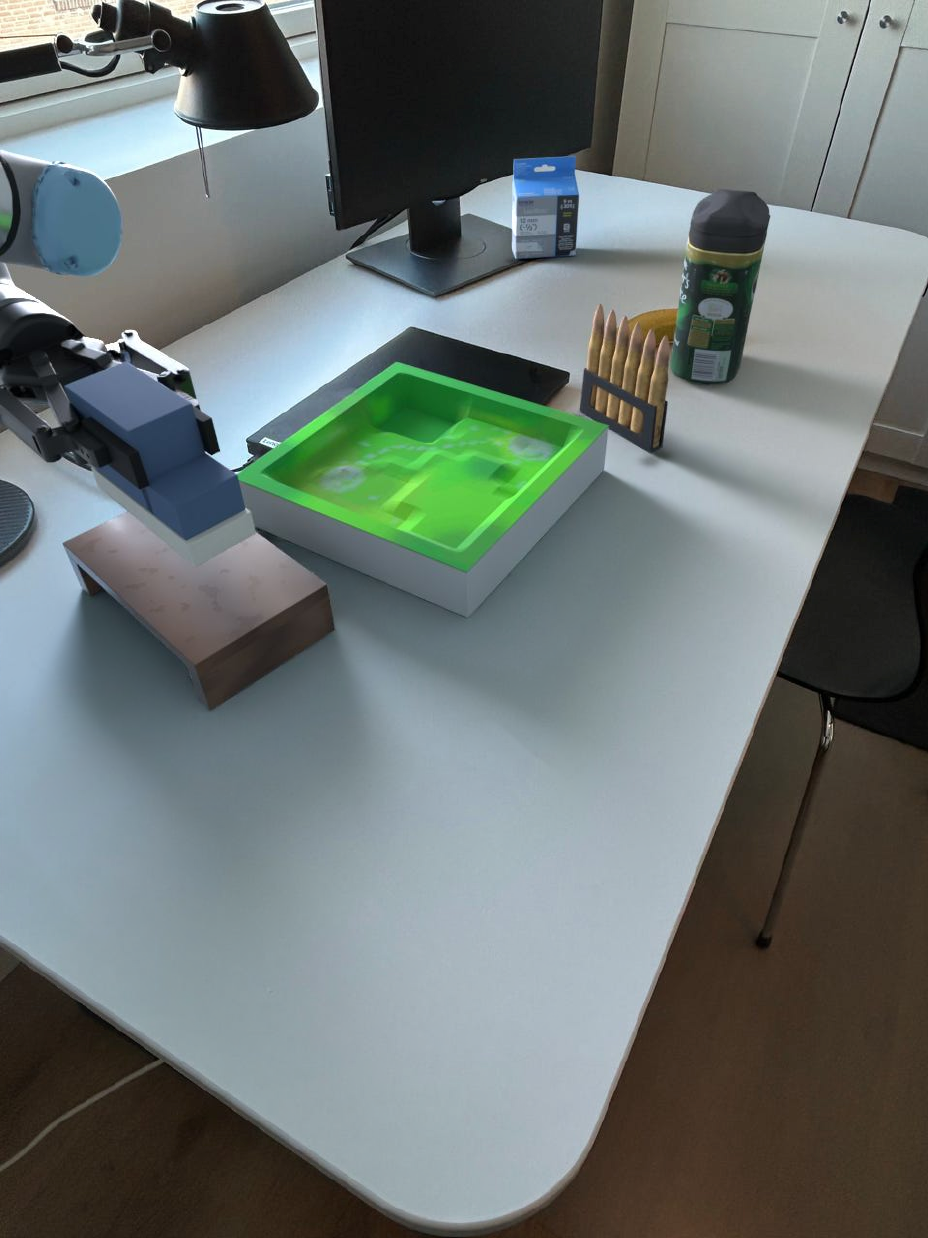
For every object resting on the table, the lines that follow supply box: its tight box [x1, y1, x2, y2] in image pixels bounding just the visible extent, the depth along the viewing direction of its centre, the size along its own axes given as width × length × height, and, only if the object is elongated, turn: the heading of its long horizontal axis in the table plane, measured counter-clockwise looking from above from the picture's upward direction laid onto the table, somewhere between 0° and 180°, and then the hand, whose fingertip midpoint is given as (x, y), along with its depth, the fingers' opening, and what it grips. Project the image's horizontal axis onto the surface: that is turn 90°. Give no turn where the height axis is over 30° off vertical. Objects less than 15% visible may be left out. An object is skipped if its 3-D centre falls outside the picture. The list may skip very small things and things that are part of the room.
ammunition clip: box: [579, 303, 670, 454], centre depth 88 cm, size 11×2×12 cm, turn 37°
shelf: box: [62, 510, 336, 712], centre depth 72 cm, size 12×20×5 cm, turn 45°
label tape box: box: [511, 155, 580, 260], centre depth 123 cm, size 9×4×12 cm, turn 95°
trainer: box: [64, 362, 257, 567], centre depth 63 cm, size 5×14×9 cm, turn 45°
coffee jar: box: [670, 188, 771, 386], centre depth 95 cm, size 10×8×19 cm
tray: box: [236, 361, 609, 619], centre depth 83 cm, size 25×25×5 cm
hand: (176, 453), depth 60 cm, fingers closed on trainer, 5 cm apart
